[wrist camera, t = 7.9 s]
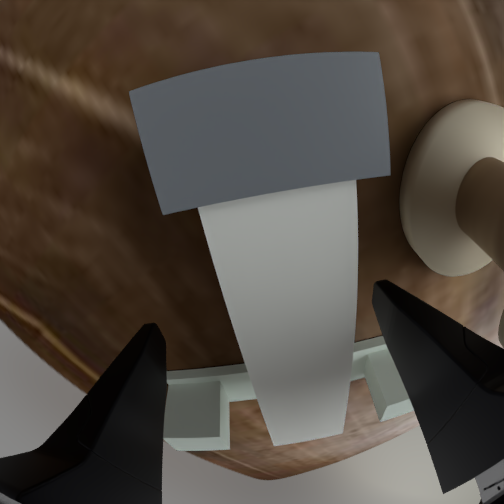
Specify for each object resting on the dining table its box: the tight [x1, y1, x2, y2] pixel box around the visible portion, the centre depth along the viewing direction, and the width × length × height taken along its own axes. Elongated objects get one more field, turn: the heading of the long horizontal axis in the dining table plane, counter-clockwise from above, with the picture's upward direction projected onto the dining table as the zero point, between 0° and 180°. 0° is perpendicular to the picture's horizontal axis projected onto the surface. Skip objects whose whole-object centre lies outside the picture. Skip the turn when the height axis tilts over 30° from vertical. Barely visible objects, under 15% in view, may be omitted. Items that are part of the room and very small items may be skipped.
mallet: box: [129, 52, 391, 446], centre depth 9 cm, size 14×4×4 cm, turn 10°
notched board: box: [163, 336, 414, 451], centre depth 14 cm, size 3×14×4 cm, turn 100°
